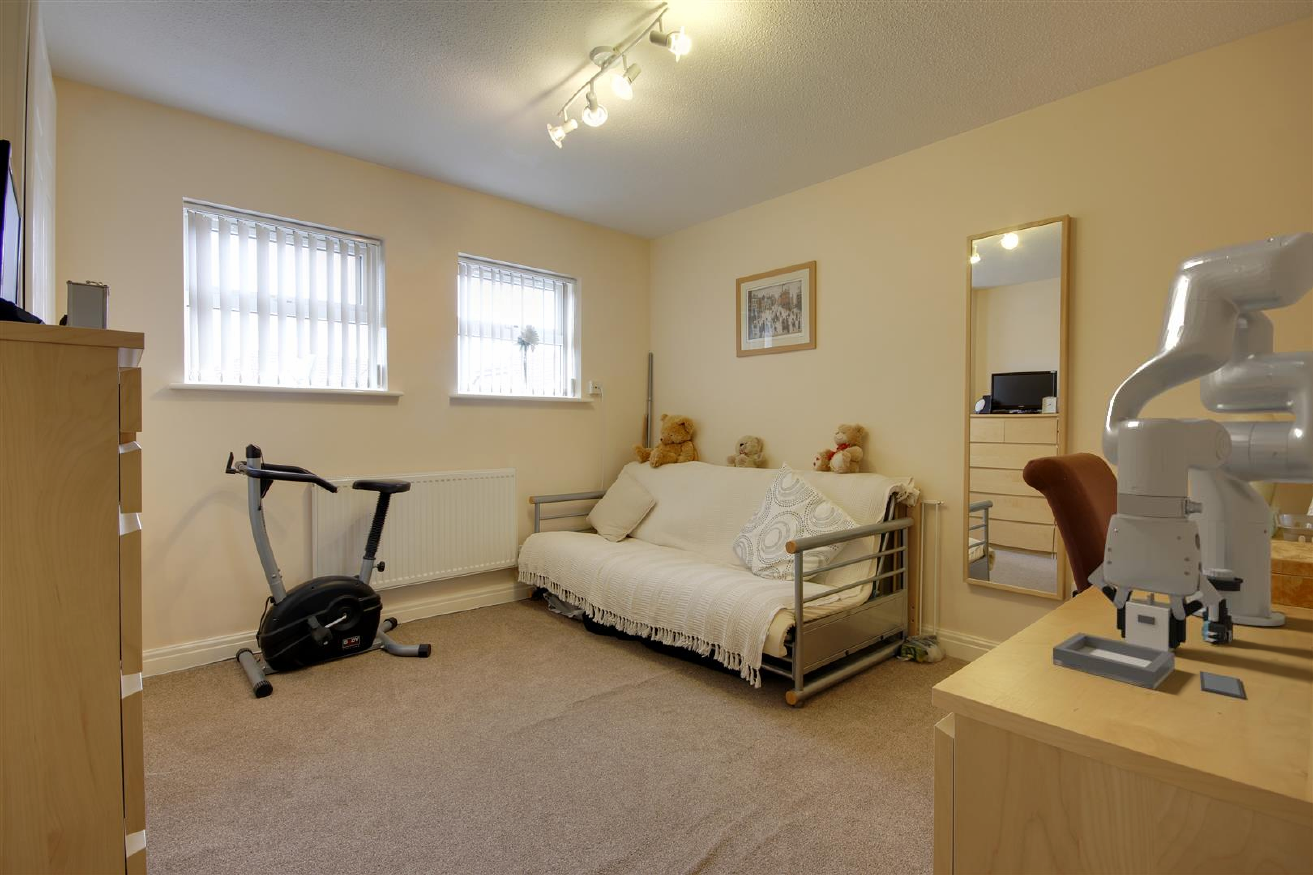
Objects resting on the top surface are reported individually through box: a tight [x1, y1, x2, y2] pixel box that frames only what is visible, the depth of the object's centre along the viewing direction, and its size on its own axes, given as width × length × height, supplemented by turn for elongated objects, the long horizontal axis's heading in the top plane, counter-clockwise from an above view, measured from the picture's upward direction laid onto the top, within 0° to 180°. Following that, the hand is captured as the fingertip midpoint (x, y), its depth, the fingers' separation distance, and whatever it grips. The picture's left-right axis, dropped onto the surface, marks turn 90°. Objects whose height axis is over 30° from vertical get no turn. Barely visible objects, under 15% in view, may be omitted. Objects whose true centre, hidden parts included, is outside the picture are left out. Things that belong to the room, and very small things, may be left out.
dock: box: [1052, 632, 1176, 691], centre depth 75 cm, size 10×10×2 cm
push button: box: [1201, 567, 1243, 645], centre depth 85 cm, size 7×5×10 cm
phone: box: [1199, 670, 1246, 700], centre depth 70 cm, size 7×4×1 cm, turn 139°
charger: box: [1124, 592, 1175, 653], centre depth 82 cm, size 5×4×7 cm
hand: (1150, 639), depth 82 cm, fingers closed on charger, 4 cm apart
